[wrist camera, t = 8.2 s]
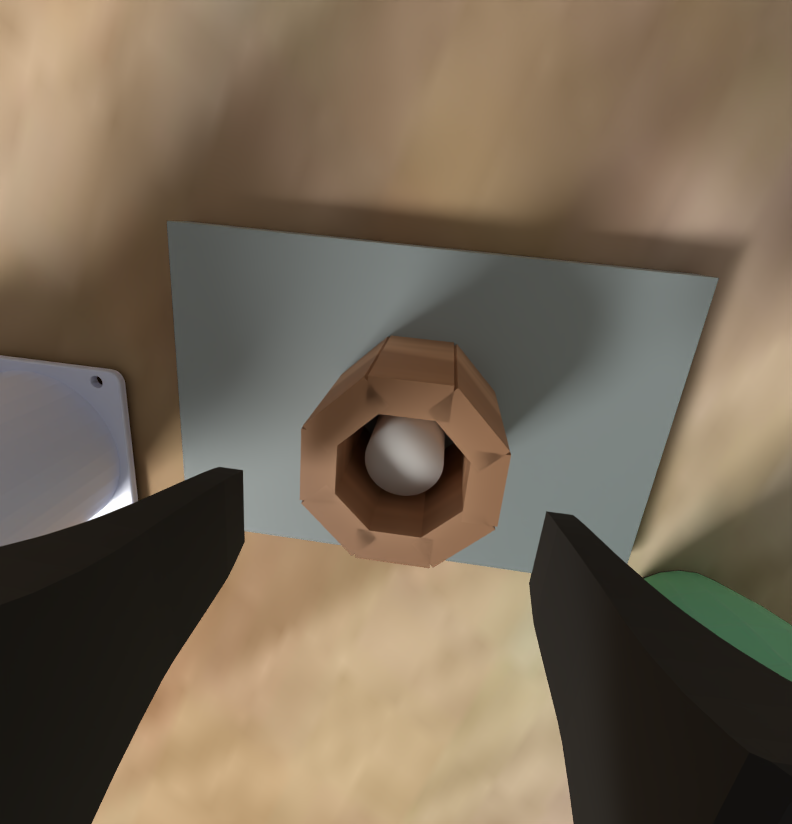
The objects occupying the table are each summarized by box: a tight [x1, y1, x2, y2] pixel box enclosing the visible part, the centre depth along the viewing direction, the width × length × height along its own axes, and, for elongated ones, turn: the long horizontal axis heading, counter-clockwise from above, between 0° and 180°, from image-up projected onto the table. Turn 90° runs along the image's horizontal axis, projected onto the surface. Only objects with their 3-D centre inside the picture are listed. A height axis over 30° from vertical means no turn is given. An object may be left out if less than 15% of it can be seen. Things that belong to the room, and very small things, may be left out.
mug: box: [643, 570, 792, 682], centre depth 18 cm, size 15×10×10 cm
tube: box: [300, 336, 511, 568], centre depth 16 cm, size 6×6×5 cm
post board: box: [167, 221, 719, 573], centre depth 17 cm, size 18×12×5 cm, turn 85°
